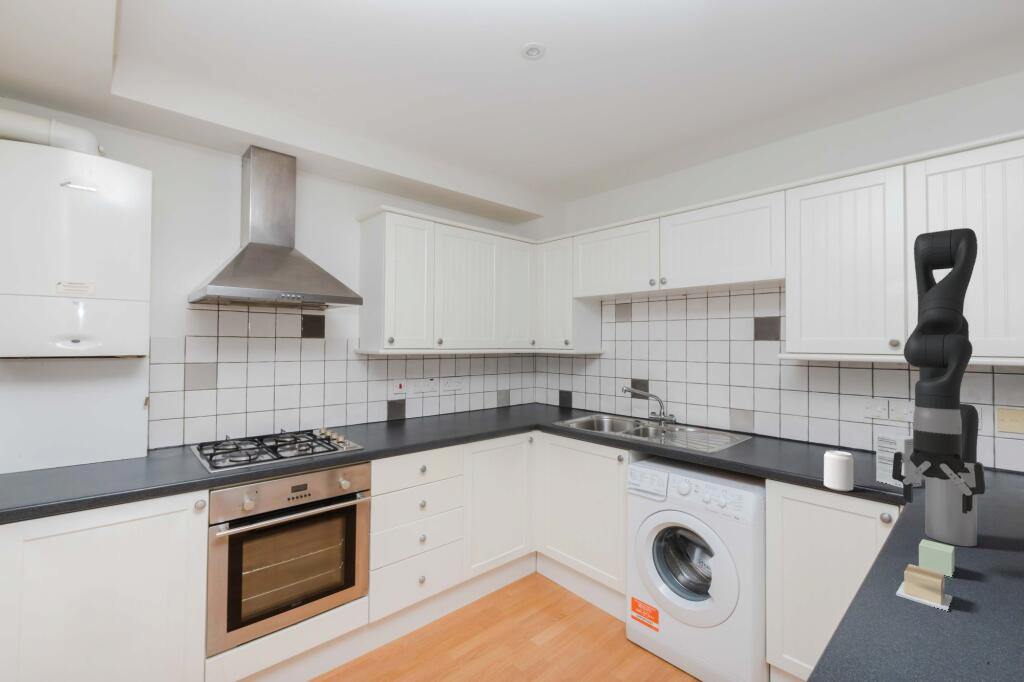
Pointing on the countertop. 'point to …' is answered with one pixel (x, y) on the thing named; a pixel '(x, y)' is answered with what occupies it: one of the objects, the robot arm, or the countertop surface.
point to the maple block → (924, 584)
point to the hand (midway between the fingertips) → (936, 507)
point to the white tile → (944, 604)
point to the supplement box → (885, 456)
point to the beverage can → (838, 470)
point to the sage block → (936, 557)
